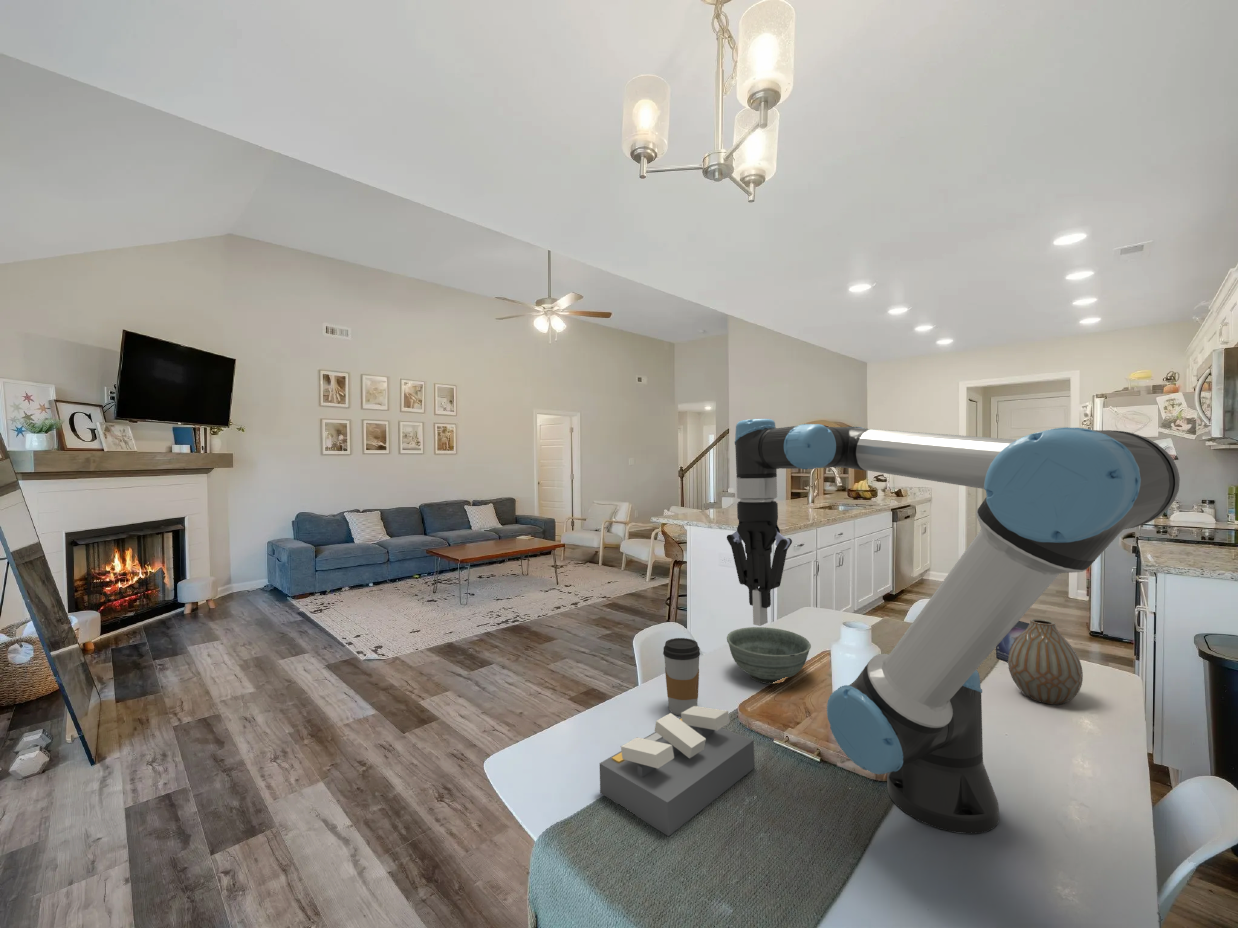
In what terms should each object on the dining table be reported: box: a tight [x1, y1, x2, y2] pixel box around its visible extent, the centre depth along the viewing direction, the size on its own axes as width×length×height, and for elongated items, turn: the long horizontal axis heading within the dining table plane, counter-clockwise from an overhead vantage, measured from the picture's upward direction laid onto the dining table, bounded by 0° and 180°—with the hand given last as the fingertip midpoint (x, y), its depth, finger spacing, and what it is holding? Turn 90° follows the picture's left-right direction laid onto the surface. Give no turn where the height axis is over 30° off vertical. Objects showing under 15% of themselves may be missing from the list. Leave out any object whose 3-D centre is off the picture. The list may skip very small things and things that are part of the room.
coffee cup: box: [662, 637, 701, 717], centre depth 117 cm, size 8×8×15 cm
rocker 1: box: [620, 737, 674, 768], centre depth 85 cm, size 8×4×2 cm, turn 45°
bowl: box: [726, 626, 812, 685], centre depth 133 cm, size 21×21×10 cm
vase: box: [1007, 618, 1084, 706], centre depth 118 cm, size 13×13×18 cm
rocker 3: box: [680, 705, 731, 730], centre depth 96 cm, size 8×4×2 cm, turn 45°
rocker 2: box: [654, 712, 706, 758], centre depth 90 cm, size 8×4×2 cm, turn 44°
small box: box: [995, 620, 1030, 663], centre depth 138 cm, size 11×6×10 cm, turn 17°
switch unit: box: [599, 716, 755, 837], centre depth 90 cm, size 15×24×6 cm, turn 134°
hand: (760, 623), depth 99 cm, fingers closed
